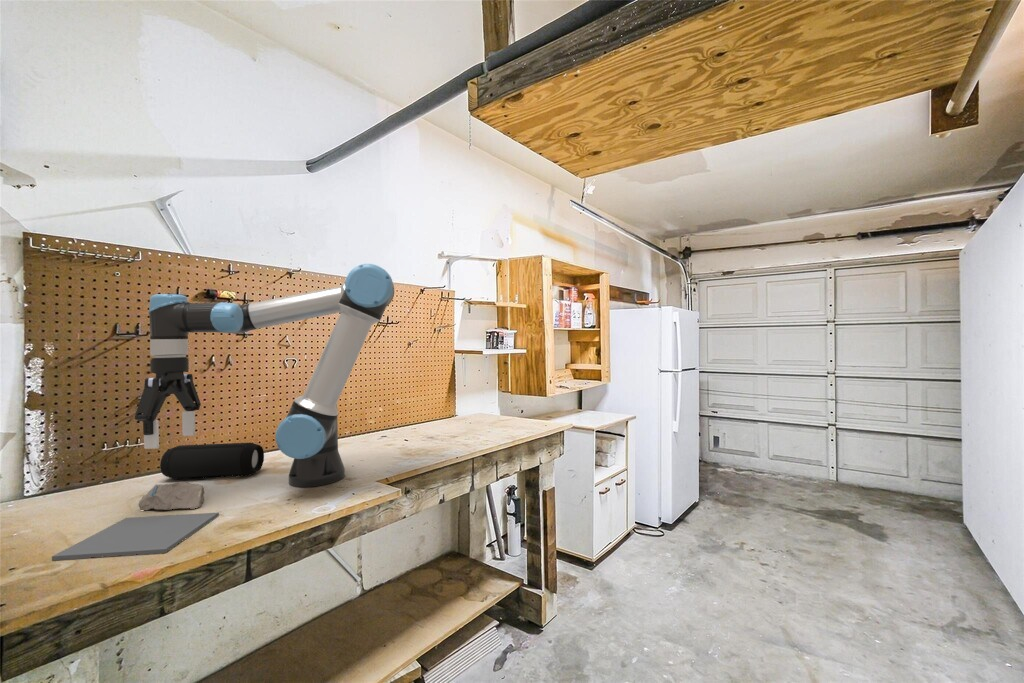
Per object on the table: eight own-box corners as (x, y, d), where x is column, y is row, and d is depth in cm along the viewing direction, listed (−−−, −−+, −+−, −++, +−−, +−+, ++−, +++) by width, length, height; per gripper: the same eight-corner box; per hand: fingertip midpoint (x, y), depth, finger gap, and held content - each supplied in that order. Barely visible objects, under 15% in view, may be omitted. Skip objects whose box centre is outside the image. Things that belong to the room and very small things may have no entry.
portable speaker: (265, 470, 139) (265, 439, 139) (250, 480, 129) (249, 446, 129) (180, 474, 136) (180, 442, 136) (158, 484, 126) (157, 450, 126)
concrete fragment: (191, 512, 105) (191, 487, 104) (134, 513, 105) (134, 488, 105) (212, 501, 112) (211, 478, 112) (159, 502, 112) (158, 478, 112)
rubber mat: (218, 515, 102) (218, 512, 102) (165, 553, 84) (165, 549, 84) (126, 521, 100) (126, 517, 100) (51, 560, 82) (51, 556, 82)
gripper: (186, 355, 120) (187, 431, 120) (112, 359, 95) (114, 455, 95) (214, 354, 121) (216, 430, 121) (149, 358, 96) (151, 453, 96)
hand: (171, 441), depth 108 cm, fingers open, 13 cm apart
